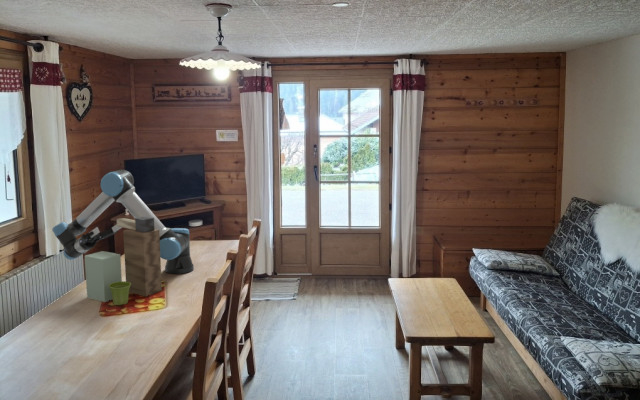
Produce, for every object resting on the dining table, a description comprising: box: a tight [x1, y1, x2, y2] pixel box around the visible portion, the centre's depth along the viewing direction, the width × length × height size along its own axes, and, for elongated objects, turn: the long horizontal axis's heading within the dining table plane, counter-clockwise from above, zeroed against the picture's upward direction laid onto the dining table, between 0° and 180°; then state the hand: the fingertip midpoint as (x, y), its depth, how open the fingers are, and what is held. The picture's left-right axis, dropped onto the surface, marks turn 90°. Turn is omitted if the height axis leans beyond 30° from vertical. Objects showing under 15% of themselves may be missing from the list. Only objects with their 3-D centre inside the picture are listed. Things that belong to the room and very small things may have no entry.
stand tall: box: [122, 228, 163, 297], centre depth 266 cm, size 10×13×30 cm
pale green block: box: [84, 250, 123, 303], centre depth 258 cm, size 10×12×20 cm
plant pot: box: [109, 280, 131, 306], centre depth 251 cm, size 9×9×9 cm
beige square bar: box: [116, 216, 154, 233], centre depth 266 cm, size 6×22×6 cm, turn 55°
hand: (109, 227), depth 274 cm, fingers open, 13 cm apart
